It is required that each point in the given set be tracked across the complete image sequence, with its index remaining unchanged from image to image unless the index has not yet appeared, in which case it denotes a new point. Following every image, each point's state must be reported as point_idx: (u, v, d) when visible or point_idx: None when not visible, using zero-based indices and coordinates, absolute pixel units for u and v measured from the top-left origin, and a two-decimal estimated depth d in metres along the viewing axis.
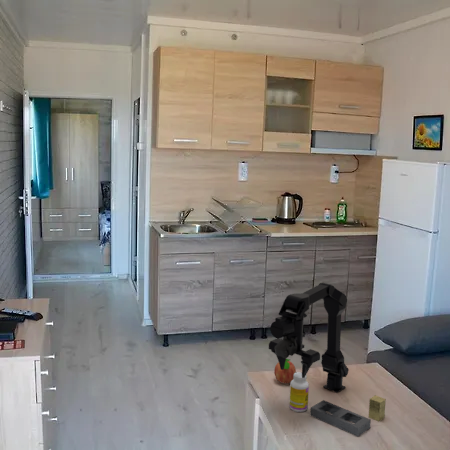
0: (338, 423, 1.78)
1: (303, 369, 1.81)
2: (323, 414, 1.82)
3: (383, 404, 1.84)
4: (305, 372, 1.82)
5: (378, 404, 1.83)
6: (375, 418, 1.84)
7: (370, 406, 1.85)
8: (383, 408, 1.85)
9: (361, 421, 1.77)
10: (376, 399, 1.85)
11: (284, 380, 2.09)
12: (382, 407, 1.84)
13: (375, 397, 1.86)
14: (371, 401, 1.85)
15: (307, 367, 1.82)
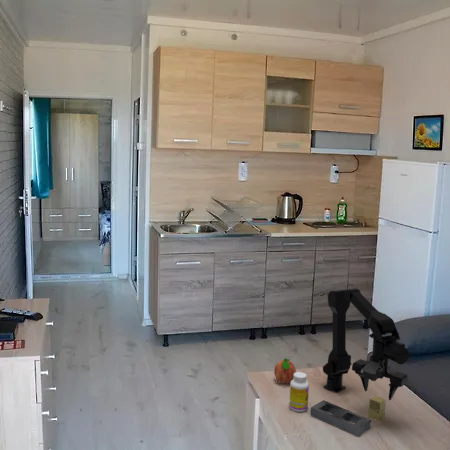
0: (338, 423, 1.78)
1: (390, 391, 1.80)
2: (323, 414, 1.82)
3: (383, 404, 1.84)
4: (392, 394, 1.81)
5: (378, 404, 1.83)
6: (375, 418, 1.84)
7: (370, 406, 1.85)
8: (383, 408, 1.85)
9: (361, 421, 1.77)
10: (376, 399, 1.85)
11: (284, 380, 2.09)
12: (382, 407, 1.84)
13: (375, 397, 1.86)
14: (371, 401, 1.85)
15: (394, 389, 1.81)
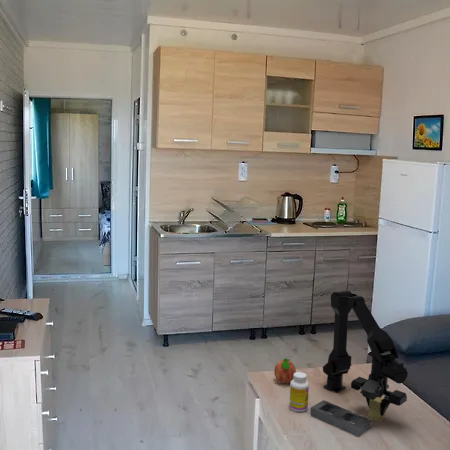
0: (338, 423, 1.78)
1: (383, 407, 1.83)
2: (323, 414, 1.82)
3: None
4: (384, 410, 1.83)
5: (378, 404, 1.83)
6: (375, 418, 1.84)
7: (370, 405, 1.85)
8: None
9: (361, 421, 1.77)
10: (376, 399, 1.85)
11: (284, 380, 2.09)
12: None
13: None
14: (371, 401, 1.85)
15: (386, 405, 1.83)
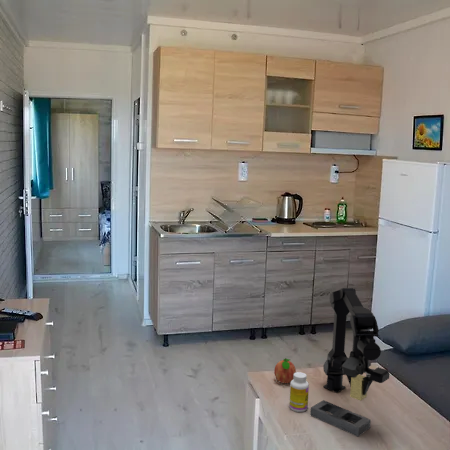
0: (338, 423, 1.78)
1: (365, 386, 1.76)
2: (323, 414, 1.82)
3: None
4: (366, 389, 1.77)
5: (360, 382, 1.76)
6: (357, 397, 1.77)
7: (351, 384, 1.78)
8: None
9: (361, 421, 1.77)
10: (358, 377, 1.78)
11: (284, 380, 2.09)
12: None
13: (357, 376, 1.79)
14: (353, 380, 1.78)
15: (368, 384, 1.77)
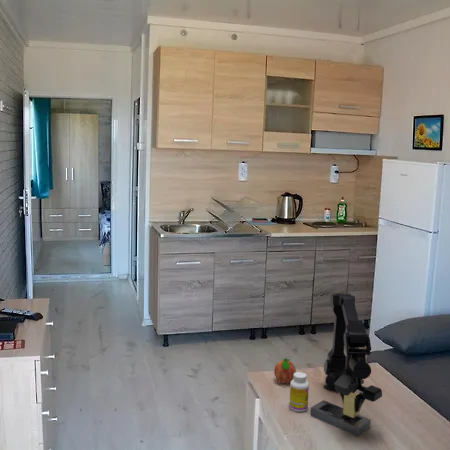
0: (338, 423, 1.78)
1: (357, 403, 1.76)
2: (323, 414, 1.82)
3: None
4: (359, 406, 1.77)
5: (352, 400, 1.76)
6: (350, 414, 1.77)
7: (344, 402, 1.78)
8: None
9: (361, 421, 1.77)
10: (351, 395, 1.78)
11: (284, 380, 2.09)
12: None
13: (350, 393, 1.79)
14: (345, 397, 1.78)
15: (361, 401, 1.76)
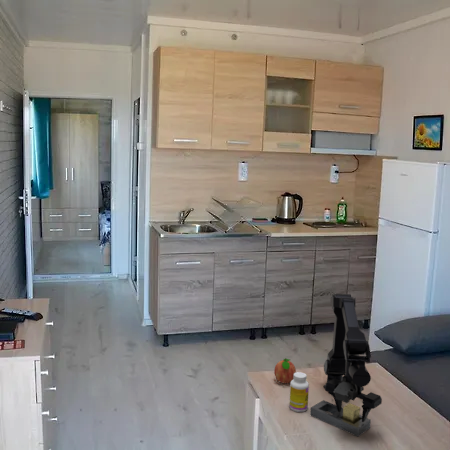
0: (338, 423, 1.78)
1: (363, 413, 1.74)
2: (323, 414, 1.82)
3: (357, 413, 1.78)
4: (365, 416, 1.75)
5: (352, 412, 1.77)
6: None
7: (344, 414, 1.79)
8: (358, 417, 1.79)
9: (361, 421, 1.77)
10: (350, 407, 1.78)
11: (284, 380, 2.09)
12: (356, 415, 1.78)
13: (349, 405, 1.80)
14: (345, 409, 1.78)
15: (367, 411, 1.75)
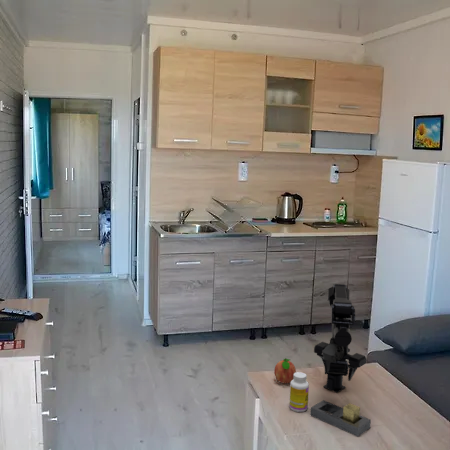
0: (338, 423, 1.78)
1: (350, 372, 1.87)
2: (323, 414, 1.82)
3: (357, 413, 1.78)
4: (351, 375, 1.88)
5: (352, 412, 1.77)
6: None
7: (344, 414, 1.79)
8: (358, 417, 1.79)
9: (361, 421, 1.77)
10: (350, 407, 1.78)
11: (284, 380, 2.09)
12: (356, 415, 1.78)
13: (349, 405, 1.80)
14: (345, 409, 1.78)
15: (353, 370, 1.87)
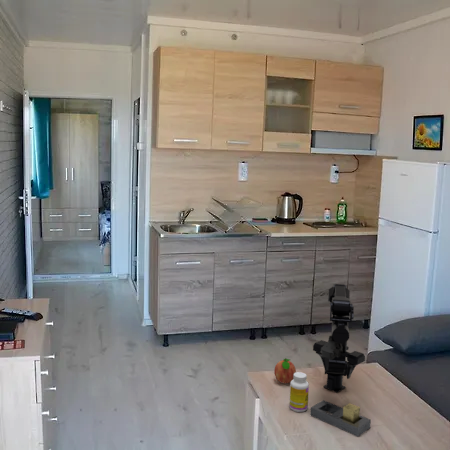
0: (338, 423, 1.78)
1: (348, 370, 1.88)
2: (323, 414, 1.82)
3: (357, 412, 1.78)
4: (350, 373, 1.88)
5: (352, 412, 1.77)
6: None
7: (343, 414, 1.79)
8: (357, 417, 1.79)
9: (361, 421, 1.77)
10: (350, 407, 1.78)
11: (284, 380, 2.09)
12: (356, 415, 1.78)
13: (349, 405, 1.80)
14: (345, 409, 1.78)
15: (352, 368, 1.88)
